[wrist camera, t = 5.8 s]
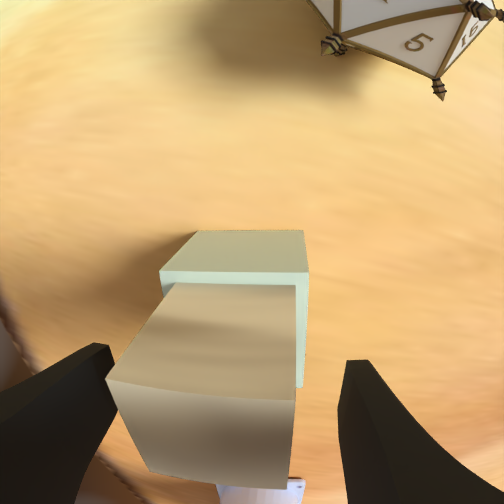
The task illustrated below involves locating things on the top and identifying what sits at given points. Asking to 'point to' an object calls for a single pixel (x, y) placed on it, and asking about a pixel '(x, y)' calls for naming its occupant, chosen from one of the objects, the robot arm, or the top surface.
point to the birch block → (213, 384)
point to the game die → (406, 30)
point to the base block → (247, 268)
